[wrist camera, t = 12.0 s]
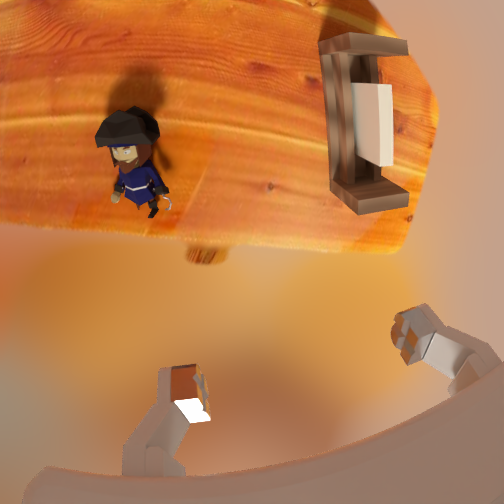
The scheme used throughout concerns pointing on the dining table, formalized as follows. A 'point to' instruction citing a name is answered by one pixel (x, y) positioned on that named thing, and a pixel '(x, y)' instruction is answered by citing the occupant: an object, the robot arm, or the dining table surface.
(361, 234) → the dining table surface
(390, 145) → the door panel
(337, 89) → the wooden rack
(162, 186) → the toy
